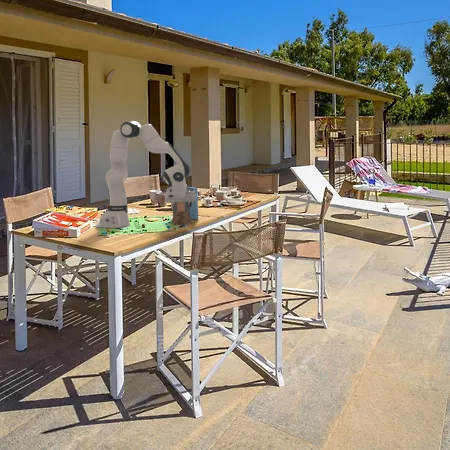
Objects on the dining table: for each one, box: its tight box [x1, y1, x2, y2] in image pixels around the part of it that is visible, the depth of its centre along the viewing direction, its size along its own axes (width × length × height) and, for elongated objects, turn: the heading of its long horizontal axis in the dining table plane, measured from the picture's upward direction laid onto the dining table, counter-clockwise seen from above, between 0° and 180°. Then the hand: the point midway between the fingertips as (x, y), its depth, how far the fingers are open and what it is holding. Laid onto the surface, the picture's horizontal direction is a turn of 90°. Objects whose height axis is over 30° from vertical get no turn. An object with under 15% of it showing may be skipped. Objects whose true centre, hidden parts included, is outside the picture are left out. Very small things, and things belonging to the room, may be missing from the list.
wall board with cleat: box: [171, 186, 191, 226], centre depth 345 cm, size 12×9×25 cm
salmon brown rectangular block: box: [177, 202, 185, 212], centre depth 346 cm, size 5×4×12 cm
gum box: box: [189, 186, 199, 220], centre depth 366 cm, size 20×5×23 cm, turn 56°
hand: (180, 204), depth 344 cm, fingers open, 8 cm apart
